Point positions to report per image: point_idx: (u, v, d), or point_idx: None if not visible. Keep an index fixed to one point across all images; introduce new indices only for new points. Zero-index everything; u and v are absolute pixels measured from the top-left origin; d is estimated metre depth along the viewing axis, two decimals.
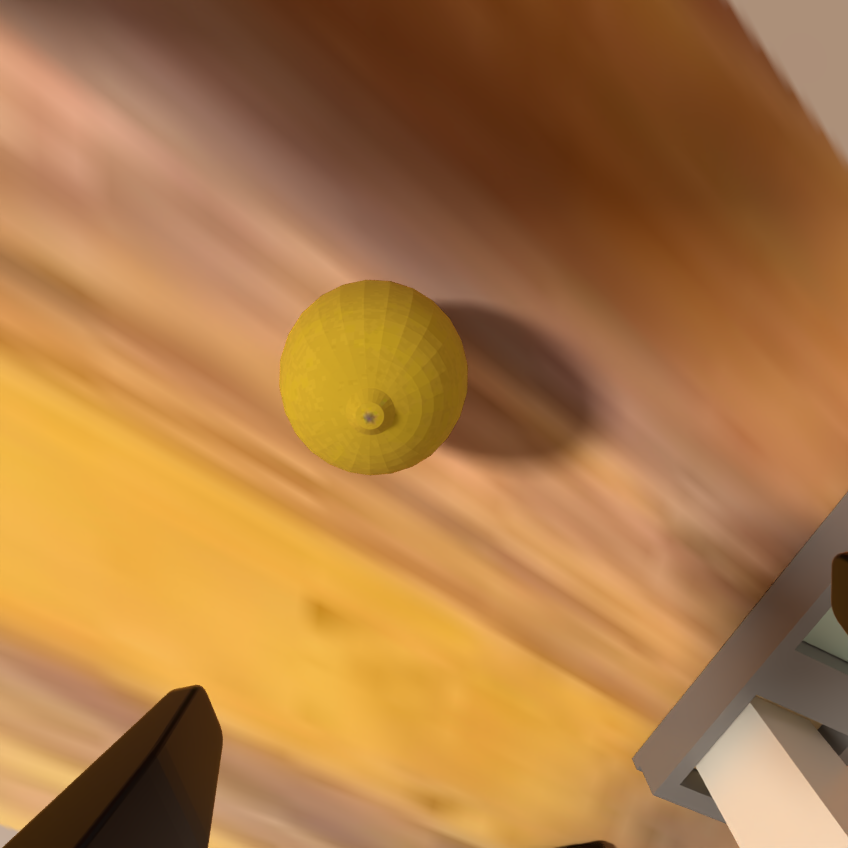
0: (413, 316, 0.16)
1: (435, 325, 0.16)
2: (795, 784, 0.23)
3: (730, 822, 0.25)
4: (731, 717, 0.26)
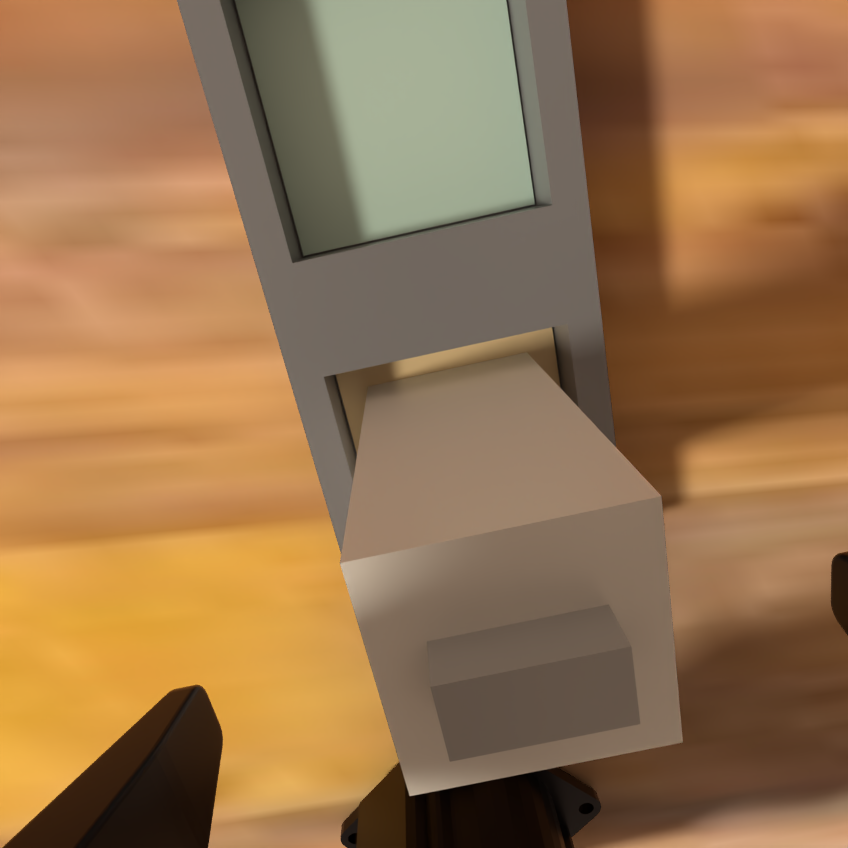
0: None
1: None
2: None
3: None
4: (330, 438, 0.14)
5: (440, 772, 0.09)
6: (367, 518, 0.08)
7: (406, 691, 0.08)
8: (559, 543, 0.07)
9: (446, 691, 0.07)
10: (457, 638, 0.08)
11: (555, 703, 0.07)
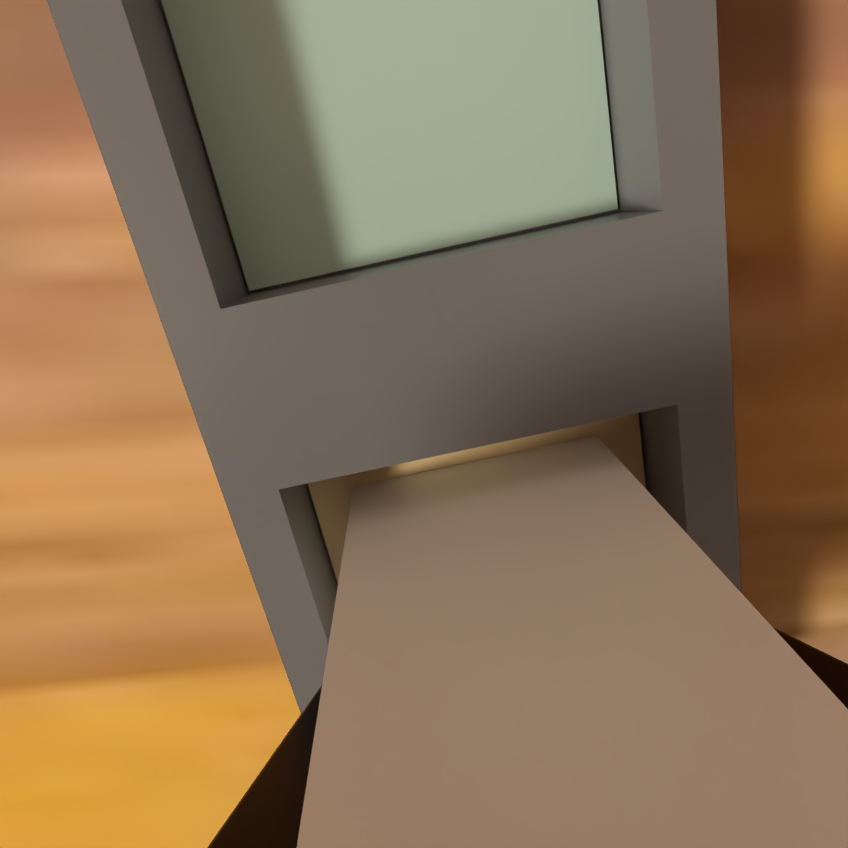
0: None
1: None
2: None
3: None
4: (291, 581, 0.09)
5: None
6: None
7: None
8: None
9: None
10: None
11: None
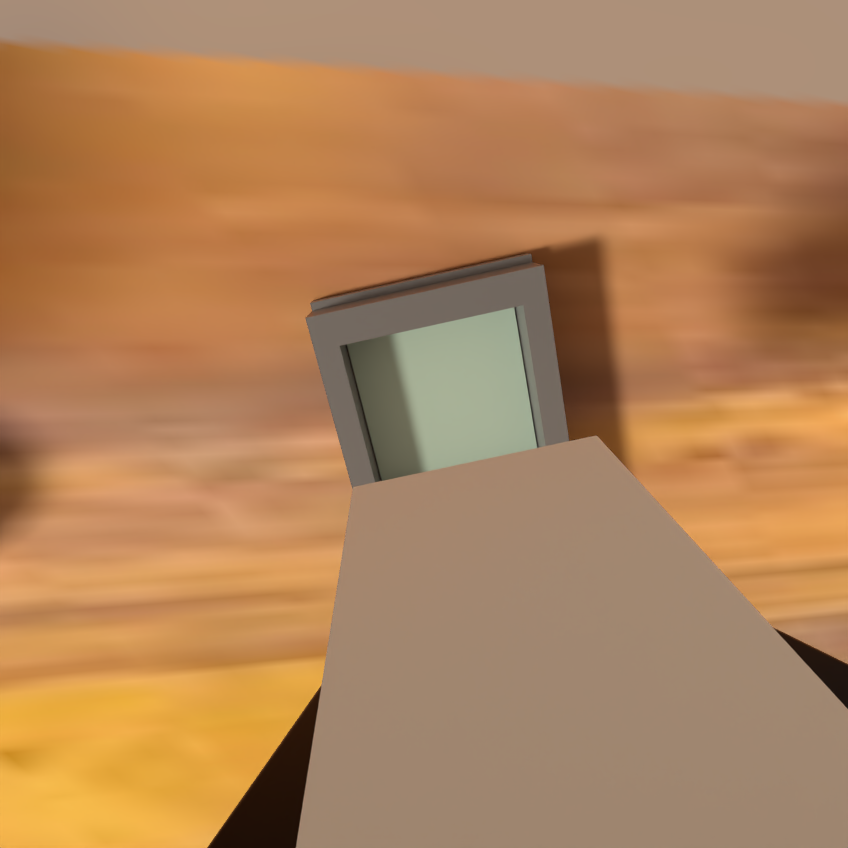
0: None
1: None
2: None
3: None
4: None
5: None
6: None
7: None
8: None
9: None
10: None
11: None
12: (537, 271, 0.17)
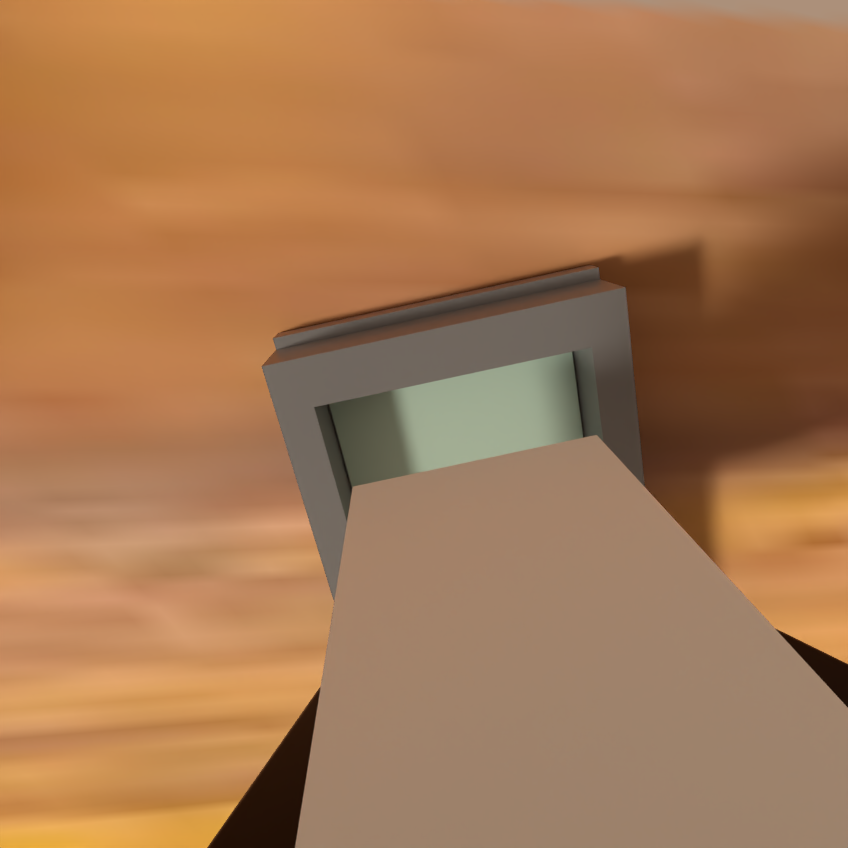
0: None
1: None
2: None
3: None
4: None
5: None
6: None
7: None
8: None
9: None
10: None
11: None
12: (616, 297, 0.11)
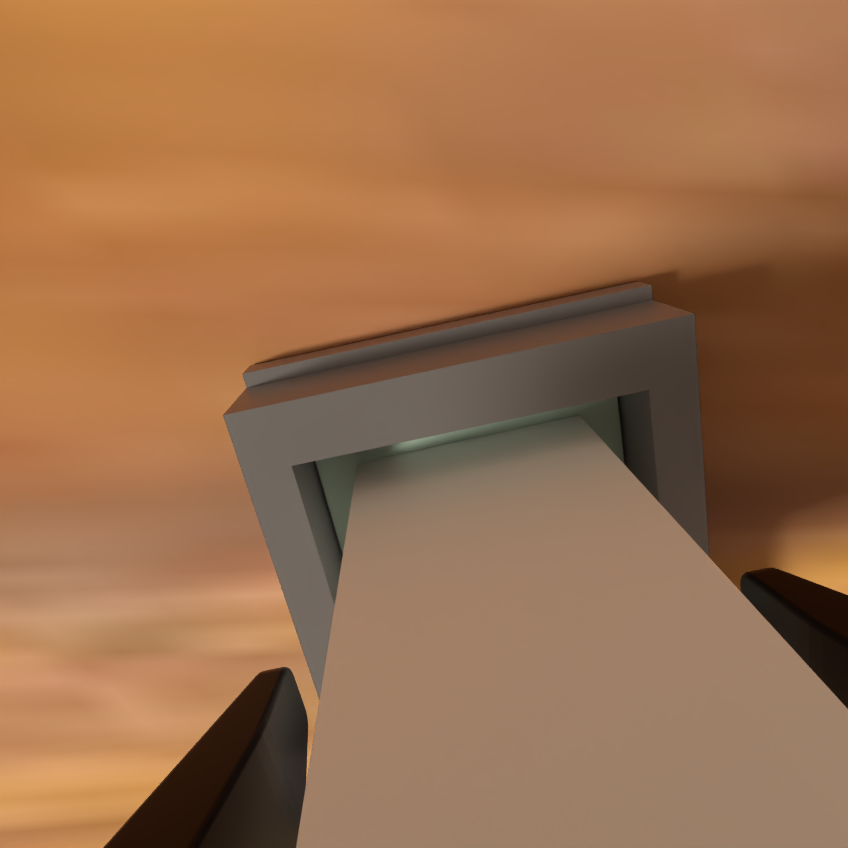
0: None
1: None
2: None
3: None
4: None
5: None
6: (336, 845, 0.04)
7: None
8: None
9: None
10: None
11: None
12: (682, 326, 0.09)
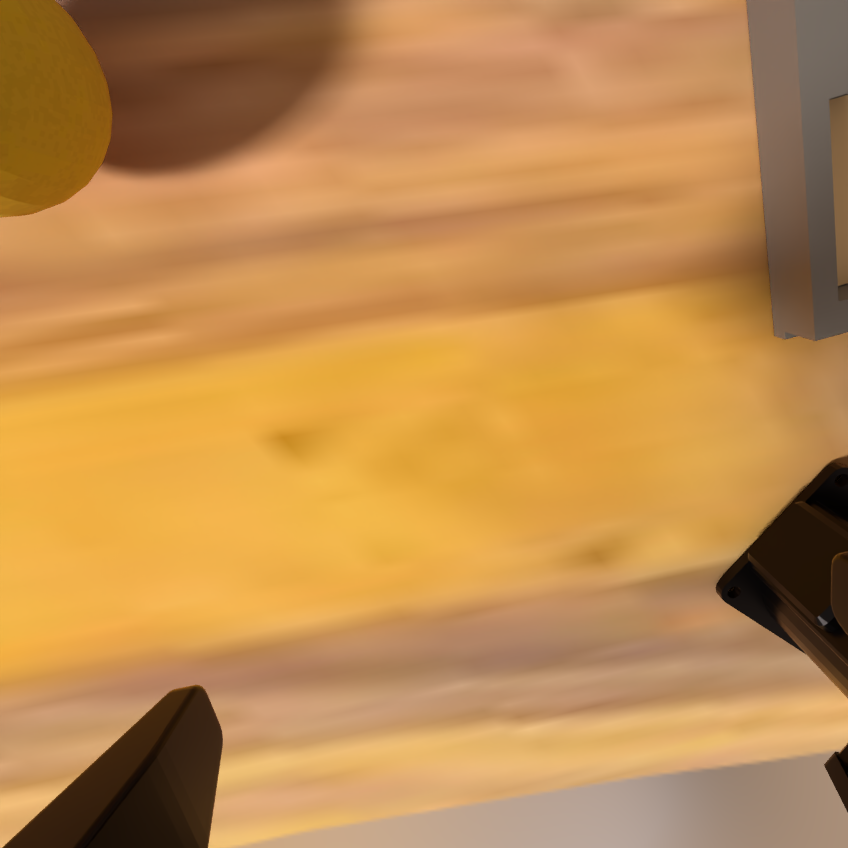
0: None
1: None
2: None
3: None
4: (823, 158, 0.16)
5: None
6: None
7: None
8: None
9: None
10: None
11: None
12: None
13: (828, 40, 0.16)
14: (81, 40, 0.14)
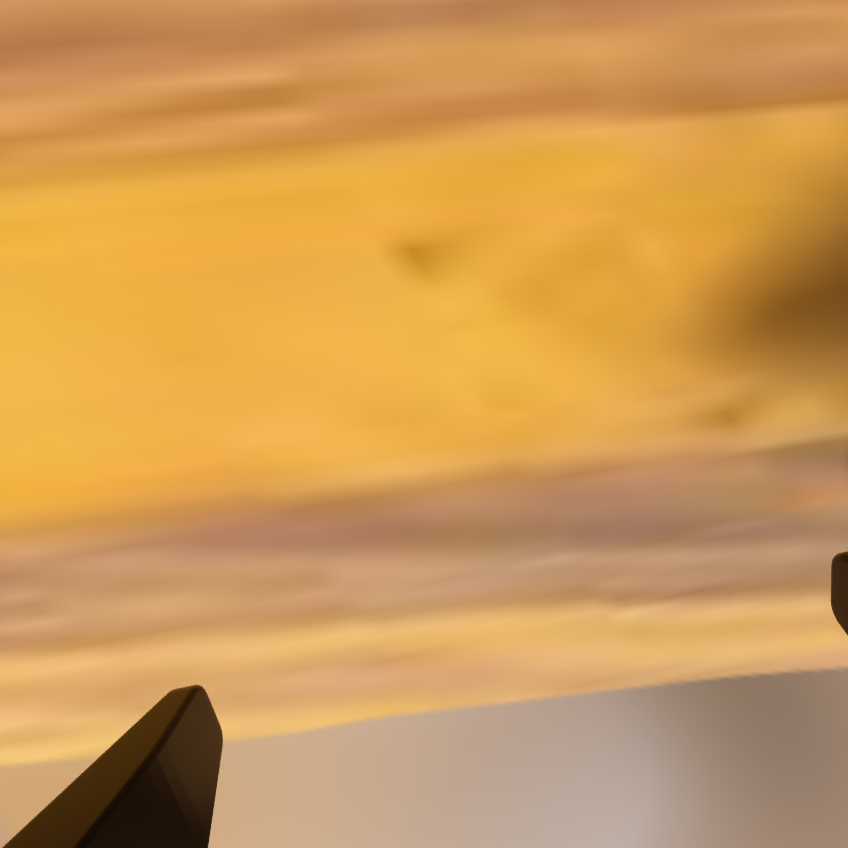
0: None
1: None
2: None
3: None
4: None
5: None
6: None
7: None
8: None
9: None
10: None
11: None
12: None
13: None
14: None
